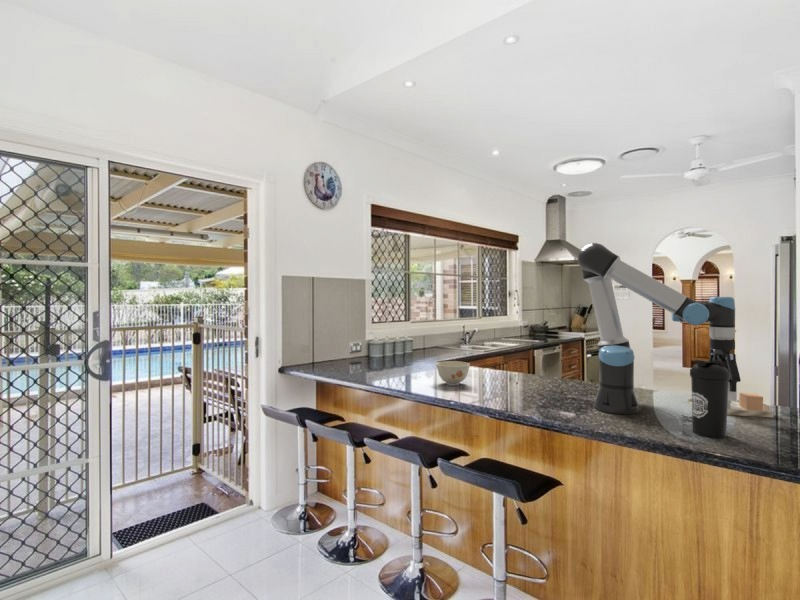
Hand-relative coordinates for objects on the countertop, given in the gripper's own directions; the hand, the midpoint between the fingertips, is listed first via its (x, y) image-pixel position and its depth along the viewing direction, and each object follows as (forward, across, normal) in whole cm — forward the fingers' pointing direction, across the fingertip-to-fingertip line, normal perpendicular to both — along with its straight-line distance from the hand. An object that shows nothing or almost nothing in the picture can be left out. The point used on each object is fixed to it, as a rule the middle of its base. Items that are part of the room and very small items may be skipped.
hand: (722, 395), depth 157 cm
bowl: (+5, +24, +103) cm, 106 cm away
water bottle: (+6, -29, +16) cm, 33 cm away
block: (+4, 0, -9) cm, 10 cm away
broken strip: (+6, +8, -6) cm, 12 cm away
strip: (+6, 0, -6) cm, 8 cm away
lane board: (+6, +4, -4) cm, 8 cm away
